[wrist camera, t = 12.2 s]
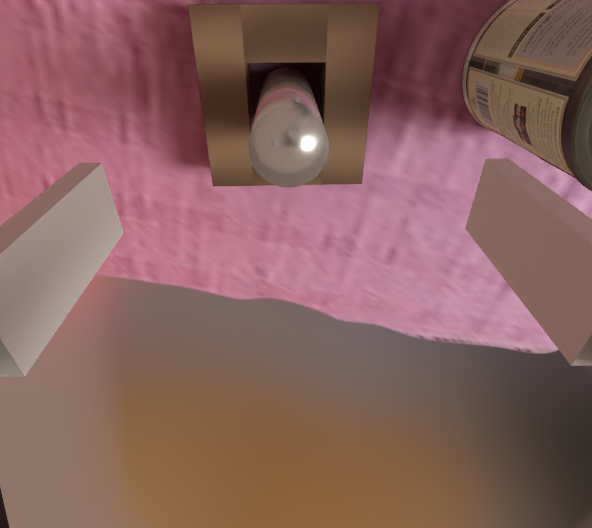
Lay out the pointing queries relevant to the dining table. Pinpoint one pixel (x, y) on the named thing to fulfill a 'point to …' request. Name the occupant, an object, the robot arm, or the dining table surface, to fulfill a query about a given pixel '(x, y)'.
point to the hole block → (284, 49)
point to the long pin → (288, 131)
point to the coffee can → (536, 80)
